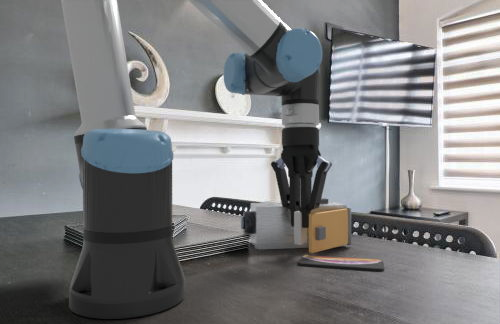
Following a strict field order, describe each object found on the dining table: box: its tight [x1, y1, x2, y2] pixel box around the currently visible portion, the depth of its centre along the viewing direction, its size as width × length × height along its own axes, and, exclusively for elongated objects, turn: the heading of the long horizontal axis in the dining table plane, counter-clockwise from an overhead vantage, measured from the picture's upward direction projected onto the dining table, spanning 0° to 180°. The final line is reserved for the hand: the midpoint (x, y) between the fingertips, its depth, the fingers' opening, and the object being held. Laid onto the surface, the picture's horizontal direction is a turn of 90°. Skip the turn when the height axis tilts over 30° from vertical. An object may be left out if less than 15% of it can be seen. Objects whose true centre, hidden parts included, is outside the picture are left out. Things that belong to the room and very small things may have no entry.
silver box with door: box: [240, 197, 348, 250], centre depth 90 cm, size 23×8×10 cm, turn 98°
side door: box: [308, 207, 352, 254], centre depth 82 cm, size 14×2×8 cm, turn 134°
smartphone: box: [296, 254, 385, 272], centre depth 73 cm, size 8×1×15 cm
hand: (300, 243), depth 81 cm, fingers closed
